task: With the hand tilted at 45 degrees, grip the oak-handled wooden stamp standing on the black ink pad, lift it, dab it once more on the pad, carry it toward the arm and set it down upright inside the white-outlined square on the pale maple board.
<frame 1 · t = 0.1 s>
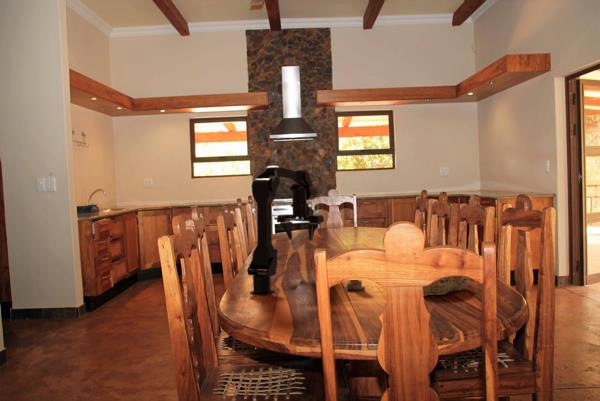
hand: (300, 240, 186), 15 cm above the table, tool pointing down, fingers open, 9 cm apart
stamp: (354, 289, 158), point 1 cm above the table, touching stamping board
stamping board: (341, 293, 159), on the table
rock: (437, 292, 157), on the table
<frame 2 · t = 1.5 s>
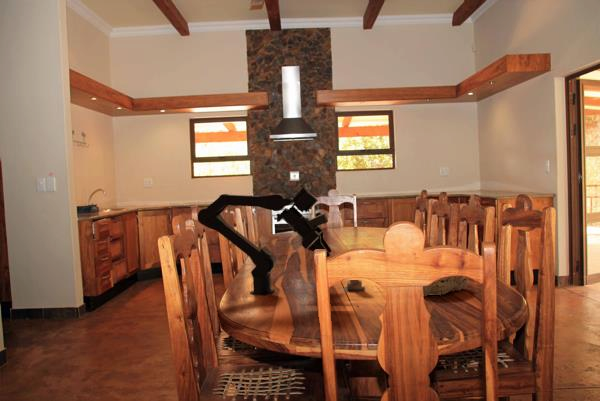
hand: (330, 253, 159), 13 cm above the table, tool tilted 45°, fingers open, 9 cm apart
nothing on the table moved.
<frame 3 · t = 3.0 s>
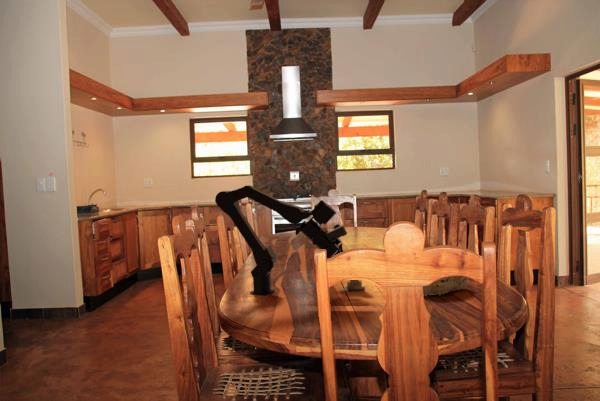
hand: (349, 266, 158), 9 cm above the table, tool tilted 45°, fingers open, 9 cm apart
nothing on the table moved.
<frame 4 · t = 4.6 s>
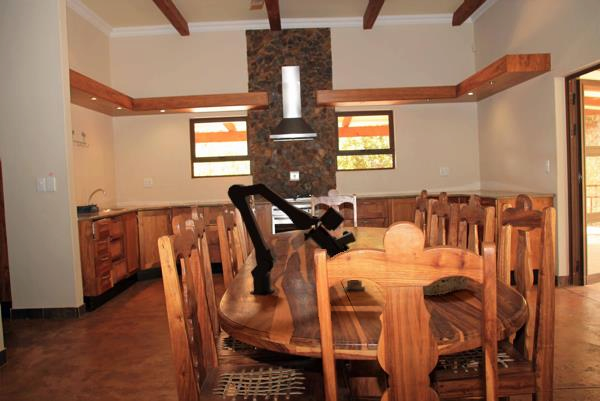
hand: (358, 272, 157), 7 cm above the table, tool tilted 45°, fingers closed on stamp, 3 cm apart
stamp: (354, 289, 158), point 1 cm above the table, touching gripper, stamping board
everything else where it was.
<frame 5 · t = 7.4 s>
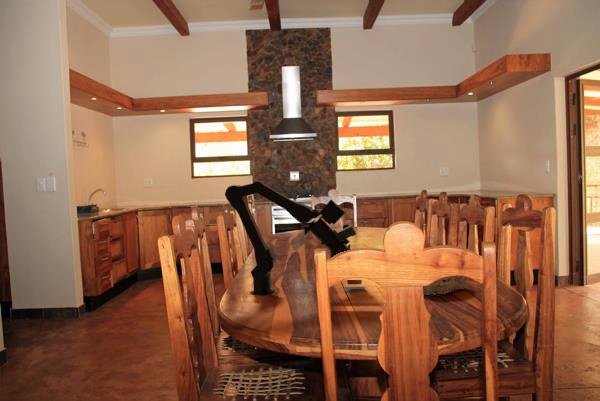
hand: (358, 266, 157), 9 cm above the table, tool tilted 45°, fingers closed on stamp, 3 cm apart
stamp: (354, 282, 158), point 4 cm above the table, touching gripper
when the fingers open (7 cm above the table, at t = 9.9 s): stamp drops 1 cm, resting on stamping board.
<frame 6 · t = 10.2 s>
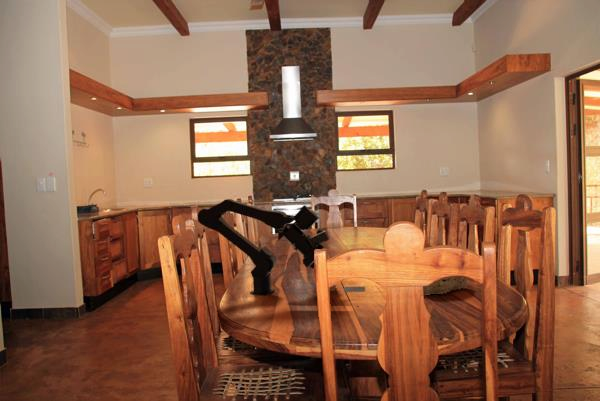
hand: (331, 271, 159), 7 cm above the table, tool tilted 45°, fingers open, 6 cm apart
stamp: (328, 291, 159), point 1 cm above the table, touching stamping board
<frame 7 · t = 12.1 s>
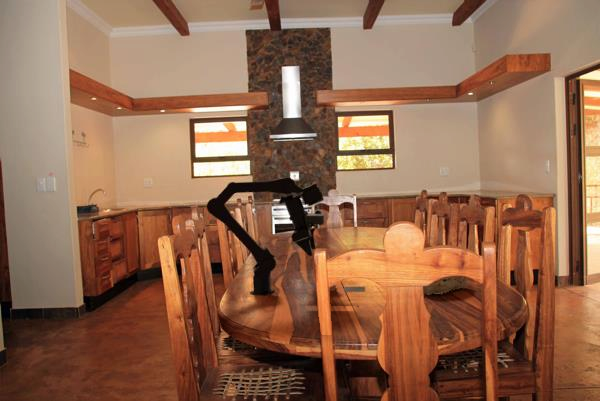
hand: (312, 252, 164), 13 cm above the table, tool tilted 20°, fingers open, 9 cm apart
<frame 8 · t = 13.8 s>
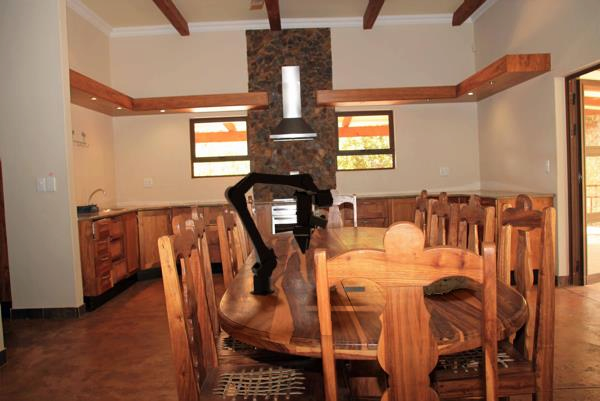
hand: (305, 251, 167), 13 cm above the table, tool pointing down, fingers open, 9 cm apart
at the end: stamp inside the target area (0.1 cm from its centre), point 0.6 cm above the table; stamp tilted 0°; the gripper is holding nothing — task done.
